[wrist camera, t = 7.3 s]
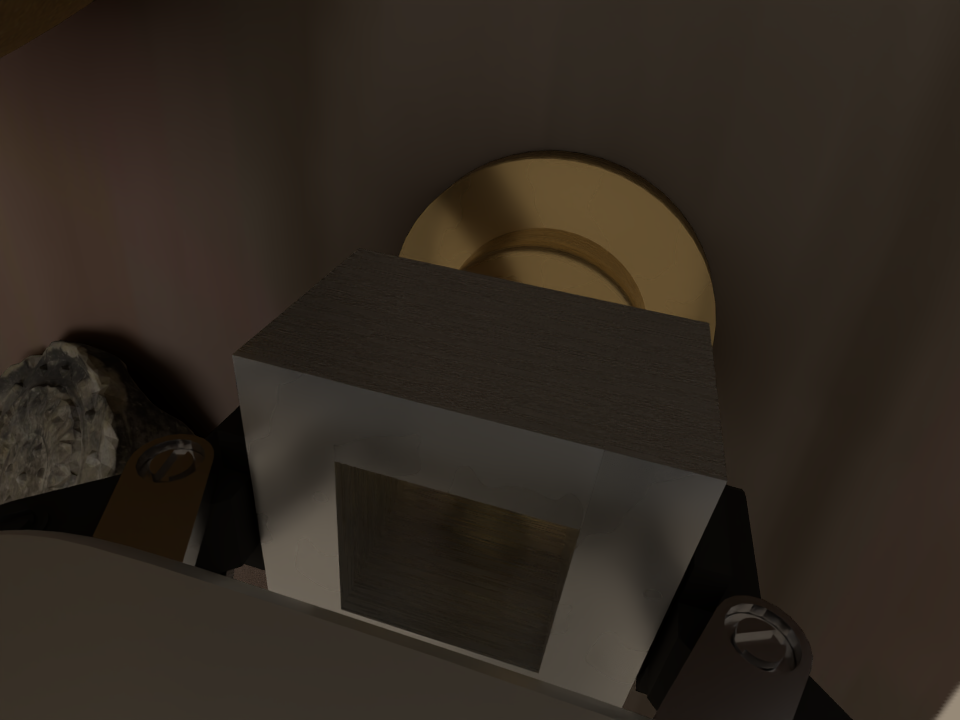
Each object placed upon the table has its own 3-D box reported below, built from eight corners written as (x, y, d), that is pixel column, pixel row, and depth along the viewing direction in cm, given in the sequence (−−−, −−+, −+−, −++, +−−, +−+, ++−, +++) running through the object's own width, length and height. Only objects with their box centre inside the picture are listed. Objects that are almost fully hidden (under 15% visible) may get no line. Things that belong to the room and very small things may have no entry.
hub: (564, 477, 20) (530, 635, 15) (355, 313, 19) (242, 425, 14) (789, 306, 16) (848, 456, 10) (526, 71, 14) (446, 111, 9)
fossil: (52, 269, 21) (-91, 531, 15) (285, 365, 27) (255, 590, 20) (-25, 416, 27) (-153, 654, 20) (181, 472, 32) (131, 675, 26)
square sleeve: (620, 563, 14) (605, 742, 11) (361, 489, 15) (274, 631, 12) (709, 322, 10) (726, 481, 7) (358, 248, 11) (231, 354, 8)
